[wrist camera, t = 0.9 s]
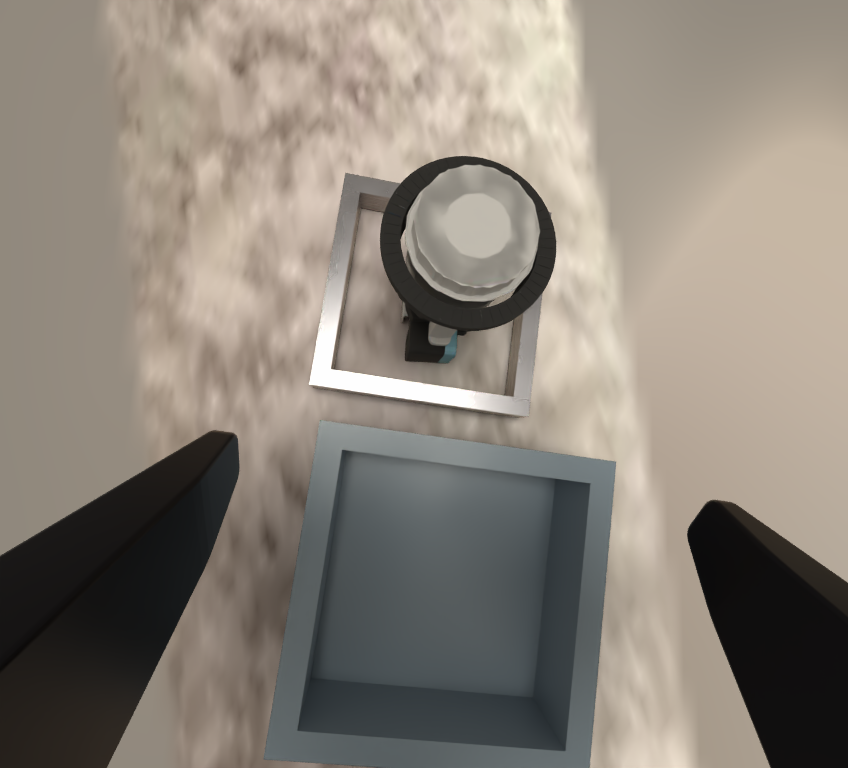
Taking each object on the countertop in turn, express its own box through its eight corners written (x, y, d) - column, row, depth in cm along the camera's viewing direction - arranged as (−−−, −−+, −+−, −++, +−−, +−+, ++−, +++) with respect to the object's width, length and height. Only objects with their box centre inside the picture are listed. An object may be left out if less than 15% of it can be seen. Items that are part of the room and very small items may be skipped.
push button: (382, 234, 23) (388, 80, 13) (486, 243, 23) (572, 103, 13) (374, 366, 22) (375, 312, 12) (482, 373, 22) (569, 326, 12)
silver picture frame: (518, 417, 22) (528, 416, 21) (313, 387, 21) (309, 384, 20) (540, 226, 24) (551, 212, 22) (347, 189, 23) (345, 172, 21)
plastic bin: (547, 716, 21) (588, 782, 17) (285, 694, 20) (263, 759, 16) (573, 456, 22) (616, 461, 18) (329, 422, 21) (320, 420, 17)
